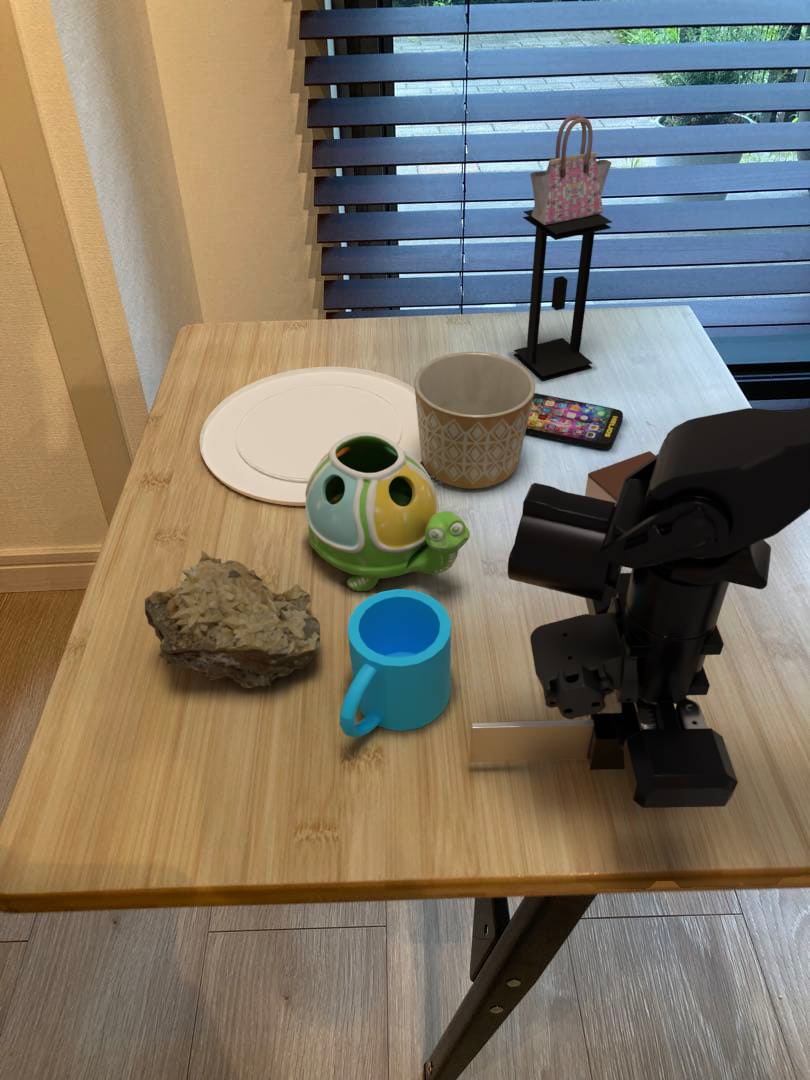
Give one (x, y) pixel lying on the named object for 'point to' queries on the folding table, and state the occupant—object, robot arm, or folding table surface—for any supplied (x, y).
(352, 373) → the plate
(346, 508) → the turtle holder
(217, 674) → the mineral specimen
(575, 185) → the handbag
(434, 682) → the mug
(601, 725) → the knife
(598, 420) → the smartphone
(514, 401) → the planter
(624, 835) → the folding table surface
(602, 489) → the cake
